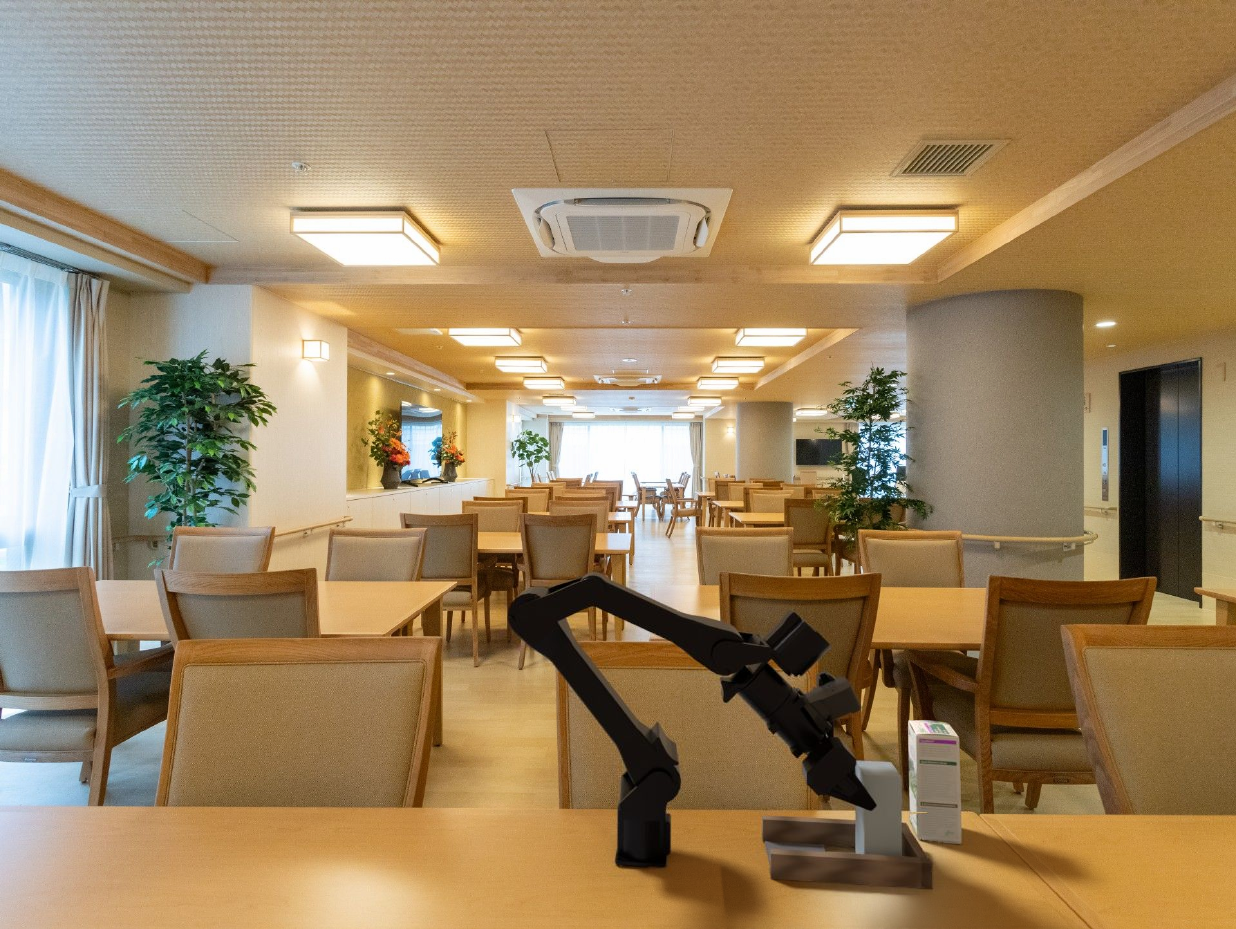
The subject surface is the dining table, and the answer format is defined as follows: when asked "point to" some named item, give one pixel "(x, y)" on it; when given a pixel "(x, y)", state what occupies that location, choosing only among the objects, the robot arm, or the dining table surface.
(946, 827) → the syrup box
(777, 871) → the frame
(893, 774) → the slate block
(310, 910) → the dining table surface
